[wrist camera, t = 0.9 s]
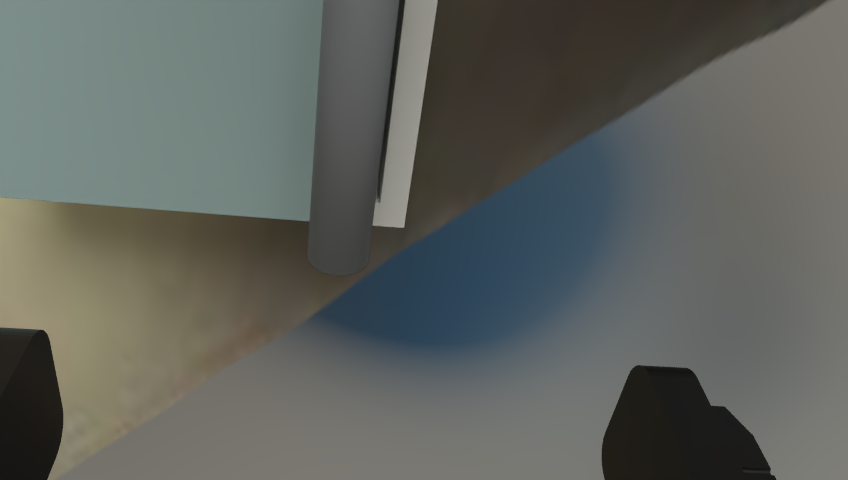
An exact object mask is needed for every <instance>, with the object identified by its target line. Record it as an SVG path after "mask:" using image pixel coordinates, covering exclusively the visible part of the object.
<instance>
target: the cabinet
mask: <svg viewBox="0 0 848 480" xmlns="http://www.w3.org/2000/svg"><path fill="white" fill-rule="evenodd" d="M437 2H438V0H400V1H399V9H398V17H397V26H396V34H395V42H394V51H393V59H392V67H391V76H390V84H389V92H388V101H387V109H386V117H385V126H384V134H383V142H382V151H381V159H380V167H379V176H378V184H377V193H376V201H375V209H374V218H373V226H386V227H399V228H404V224H405V217H406V211H407V204H408V197H409V190H410V184H411V177H412V170H413V163H414V157H415V150H416V143H417V136H418V130H419V123H420V116H421V109H422V103H423V96H424V89H425V83H426V76H427V69H428V62H429V56H430V49H431V42H432V35H433V29H434V22H435V15H436V8H437Z"/></svg>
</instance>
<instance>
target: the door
mask: <svg viewBox="0 0 848 480" xmlns="http://www.w3.org/2000/svg"><path fill="white" fill-rule="evenodd" d="M399 1H400V0H0V197H3V198H16V199H29V200H42V201H54V202H67V203H80V204H93V205H106V206H118V207H131V208H144V209H157V210H170V211H182V212H195V213H208V214H221V215H234V216H246V217H259V218H272V219H285V220H298V221H309V235H308V251H307V258H308V261H309V263H310V264H311V265H312V266H313V267H314V268H315V269H317V270H318V271H320V272H323V273H326V274H329V275H335V276H346V275H352V274H355V273H358V272H360V271H361V270H363V269H364V268H365V267H366V265H367V264H368V259H369V251H370V243H371V234H372V226H373V218H374V209H375V201H376V193H377V184H378V176H379V167H380V159H381V151H382V142H383V134H384V126H385V117H386V109H387V101H388V92H389V84H390V76H391V67H392V59H393V51H394V42H395V34H396V26H397V17H398V9H399Z"/></svg>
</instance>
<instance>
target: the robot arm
mask: <svg viewBox="0 0 848 480" xmlns="http://www.w3.org/2000/svg"><path fill="white" fill-rule="evenodd" d="M62 430H63V408H62V402H61V397H60V392H59V387H58V381H57V376H56V371H55V366H54V361H53V356H52V351H51V345H50V341H49V337H48V335H47V333H46V332H45V331H44V330H34V329H16V328H0V480H47V479H48V476H49V474H50V471H51V469H52V466H53V464H54V461H55V459H56V456H57V453H58V450H59V446H60V442H61V437H62ZM602 468H603V474H604V478H605V480H776V478H775V476H773V475H771V474H770V470H771V469H770V466H769V465H768V463H767V461H766V459H765V457H764V455H763V453H762V451H761V449H760V448H759V446H758V444H757V442H756V440H755V439H754V436H753V435H752V434H751V433H750V432H749V431H748V430H747V429H746V428H745V427H744V426H743V425H742V424H741V423H740V422H739V421H738V420H737V419H736V418H735V417H734V416H733V415H732V414H731V413H730V412H729V411H728V410H727V409H726V408H725V407H721V406H720V407H719V406H711V405H710V403H709V401H708V399H707V397H706V395H705V393H704V391H703V389H702V387H701V385H700V383H699V381H698V379H697V377H696V375H695V374H694V373H693V371H691V370H690V369H688V368H677V367H676V368H675V367H659V366H641V365H638V366H635V367H634V368H633V369H632V370H631V372H630V374H629V376H628V378H627V380H626V383H625V386H624V388H623V391H622V393H621V395H620V398H619V400H618V403H617V405H616V408H615V410H614V413H613V415H612V418H611V420H610V422H609V425H608V428H607V430H606V432H605V435H604V439H603V445H602Z"/></svg>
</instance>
